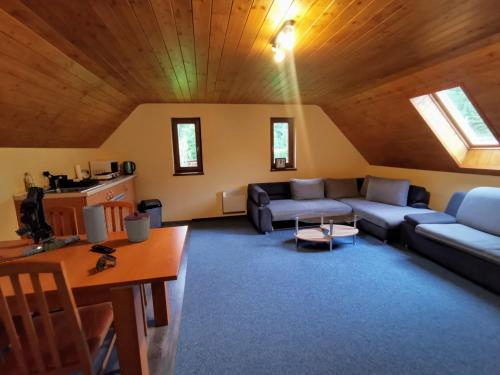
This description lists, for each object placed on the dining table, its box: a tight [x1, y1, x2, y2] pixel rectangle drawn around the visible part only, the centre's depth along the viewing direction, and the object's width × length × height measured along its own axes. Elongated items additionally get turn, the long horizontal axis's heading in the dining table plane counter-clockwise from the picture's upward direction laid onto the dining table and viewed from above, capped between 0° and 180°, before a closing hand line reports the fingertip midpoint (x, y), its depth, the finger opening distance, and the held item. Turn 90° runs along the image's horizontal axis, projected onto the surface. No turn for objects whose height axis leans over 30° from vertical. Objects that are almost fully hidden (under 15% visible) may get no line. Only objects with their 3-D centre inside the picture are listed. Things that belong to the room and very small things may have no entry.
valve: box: [21, 234, 81, 258], centre depth 170 cm, size 7×31×6 cm, turn 145°
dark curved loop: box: [95, 253, 117, 272], centre depth 137 cm, size 12×10×8 cm
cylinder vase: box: [82, 204, 108, 244], centre depth 180 cm, size 12×12×25 cm
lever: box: [28, 235, 56, 247], centre depth 164 cm, size 14×4×1 cm, turn 157°
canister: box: [122, 210, 151, 243], centre depth 178 cm, size 18×18×21 cm
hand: (37, 244), depth 160 cm, fingers closed
